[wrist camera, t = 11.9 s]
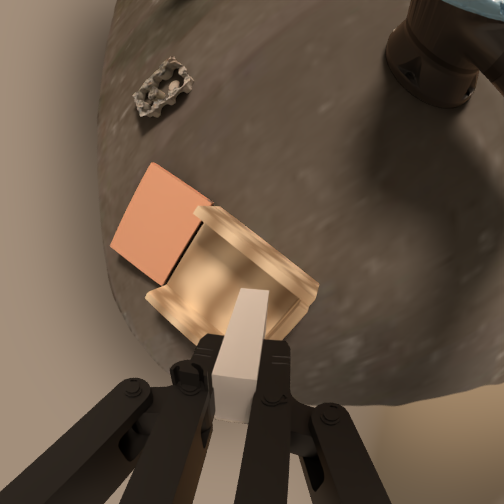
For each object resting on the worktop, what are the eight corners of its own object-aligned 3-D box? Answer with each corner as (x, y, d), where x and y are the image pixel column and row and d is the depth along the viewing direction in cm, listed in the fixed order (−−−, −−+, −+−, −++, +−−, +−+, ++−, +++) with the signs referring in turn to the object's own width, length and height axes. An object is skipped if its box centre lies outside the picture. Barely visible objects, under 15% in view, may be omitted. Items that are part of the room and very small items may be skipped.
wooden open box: (319, 283, 37) (314, 303, 29) (253, 357, 42) (234, 388, 33) (220, 206, 40) (189, 205, 32) (170, 286, 45) (136, 301, 36)
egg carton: (185, 62, 39) (173, 52, 35) (200, 89, 39) (188, 79, 35) (140, 96, 42) (126, 89, 38) (151, 124, 42) (136, 119, 38)
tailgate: (211, 203, 39) (151, 162, 38) (161, 286, 43) (110, 246, 43) (213, 202, 40) (154, 162, 39) (164, 283, 44) (113, 244, 44)
